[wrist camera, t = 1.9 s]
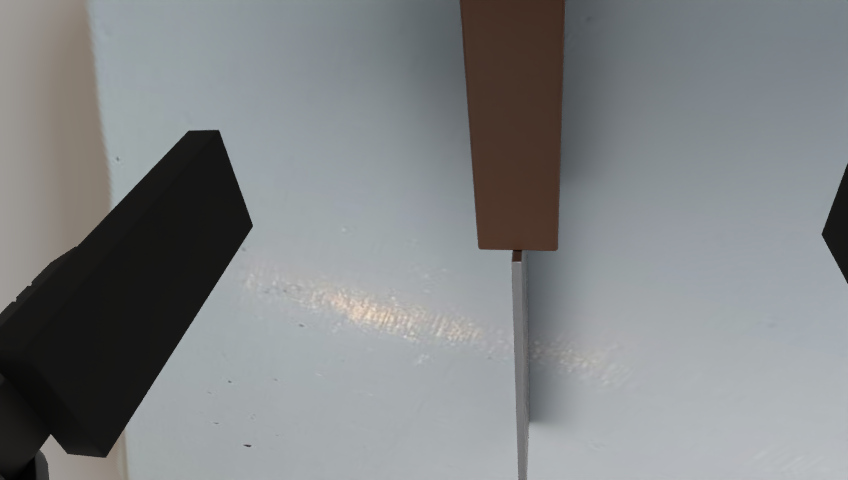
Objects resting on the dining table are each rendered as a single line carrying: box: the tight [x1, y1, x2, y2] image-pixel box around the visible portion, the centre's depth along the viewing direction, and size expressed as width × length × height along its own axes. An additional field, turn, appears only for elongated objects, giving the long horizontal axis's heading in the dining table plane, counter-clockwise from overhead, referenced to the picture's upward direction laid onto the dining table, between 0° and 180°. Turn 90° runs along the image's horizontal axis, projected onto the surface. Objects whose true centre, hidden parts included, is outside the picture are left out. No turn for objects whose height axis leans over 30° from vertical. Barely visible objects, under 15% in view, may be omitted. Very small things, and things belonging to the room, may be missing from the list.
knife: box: [460, 0, 565, 480], centre depth 21 cm, size 24×2×4 cm, turn 7°
